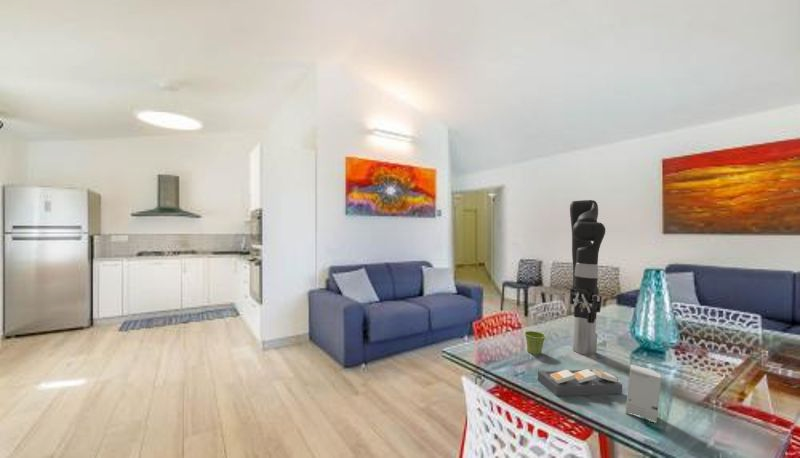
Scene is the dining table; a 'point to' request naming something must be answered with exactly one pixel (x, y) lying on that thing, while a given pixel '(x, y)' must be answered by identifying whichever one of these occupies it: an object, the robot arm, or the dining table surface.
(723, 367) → the dining table surface
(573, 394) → the power strip
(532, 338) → the plant pot
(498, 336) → the dining table surface
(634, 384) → the skincare box
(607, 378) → the rocker
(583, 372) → the rocker
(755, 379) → the dining table surface
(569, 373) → the rocker
